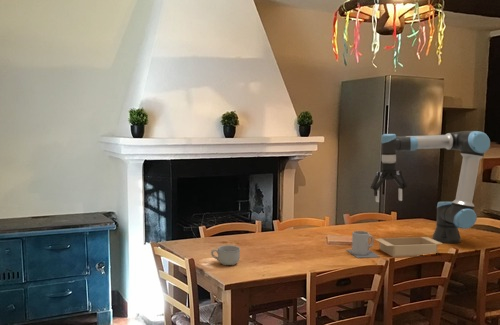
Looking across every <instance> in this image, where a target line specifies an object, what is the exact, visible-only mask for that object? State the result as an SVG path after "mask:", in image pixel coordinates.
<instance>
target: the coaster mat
mask: <svg viewBox="0 0 500 325" xmlns="http://www.w3.org/2000/svg"><path fill="white" fill-rule="evenodd" d="M346 252H348V253H349V254H351V255H352V256H354V257H355V258H356V259H370V258H371V259H372V258H380V255H378V254H377V253H375V252H373V251H371V249H369V254H368V255H355V254H353V253H352V249H346Z"/></svg>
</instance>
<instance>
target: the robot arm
mask: <svg viewBox="0 0 500 325" xmlns="http://www.w3.org/2000/svg"><path fill="white" fill-rule="evenodd" d="M380 144H381V146H380V147H381V162H382V163H381V171H376V172H375V177H374V179H373V181H372V184H371V185H370V189H372V190H373V196H374V197H375V202H376V203H380V190H379V188H380V187H381V186H382V185H383V184H384V182H385V181H387V180H388V181H389V180H393V181H394V182H395V184H396V185H397V186H398V201H399V202H402V201H403V195H404V190H405V188H408V185H407V183H406V180H405V179H404V177H403V173H402V171H401V170H397V152H412V151H417V150H423V149H424V150H427V149H446V150H447V151H449V150H453V151H460V155H461V157H462V162H461V166H460V172H459V179H458V183H457V187H456V188H457V189H456V195H455V199H454V200H453V201H438V202H437V205H436V226H435V229H434V232H433V234H432V239H433V240H436V241H438V242H440V243H443V244H444V243H445V244H458V243H461V240H462V238H461V234H460V232H459V229H463V230H467V229H470V228H472V227H474V225H475V224H476V223H477V220H478V218H477V214H476V212H475V204H474V202H473V199H474V196H475V194H474V193H475V189H476V182H477V178H478V177H477V176H478V172H479V167H480V166H479V165H480V160H481V159H483V158H484V156H485V153H486V152H487V151H488V150H489V149H490V147H491V139H490V138H489V136H488V135H487V133H485V132H483V131H478V130H463V131H462V130H461V131H456V132H448V133H446V134H436V135H435V134H434V135H432V134H431V135H403V136H401V135H399V136H397V134H395V133H384V134H382V135H381V141H380Z"/></svg>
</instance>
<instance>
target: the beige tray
mask: <svg viewBox="0 0 500 325" xmlns="http://www.w3.org/2000/svg"><path fill="white" fill-rule="evenodd" d="M374 240H375V241H377V242H379V250H381V251H382V252H384V253H385V254H387V255H389V256H391V257H392V258H402V257H403V258H406V257H407V258H408V257H409V258H410V256H411V257H418V256H417V255H423V254H430V253H437V254H438V245H443V244H444V243H443V242H438V241H436V240H433V238H431V237H428V236H412V237H411V236H410V237H408V236H407V237H406V236H405V237H383V238H374Z"/></svg>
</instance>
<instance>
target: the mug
mask: <svg viewBox="0 0 500 325" xmlns="http://www.w3.org/2000/svg"><path fill="white" fill-rule="evenodd" d="M351 236H352V237H351V241H352V243H351V250H352V253H353V254H355V255H368V254H369V250H370V248H372V247H373V245H374V237H373V235H372V234H370V233H369V231H365V230H354V231H352V235H351ZM369 242H370V243H369Z"/></svg>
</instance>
